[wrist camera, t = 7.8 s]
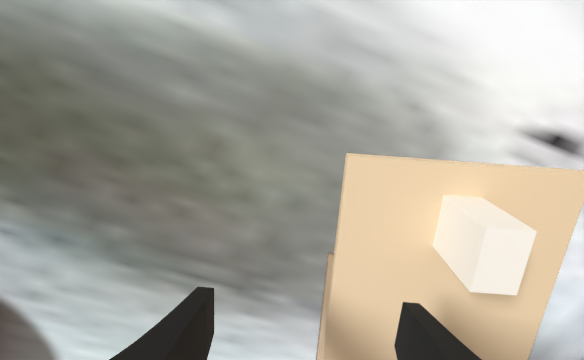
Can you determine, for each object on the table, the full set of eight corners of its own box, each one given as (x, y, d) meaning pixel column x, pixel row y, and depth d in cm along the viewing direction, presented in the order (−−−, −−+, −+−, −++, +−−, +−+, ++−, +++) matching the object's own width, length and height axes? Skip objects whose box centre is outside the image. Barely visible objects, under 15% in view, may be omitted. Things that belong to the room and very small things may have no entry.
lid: (510, 383, 21) (566, 463, 16) (320, 369, 21) (325, 445, 16) (583, 170, 17) (685, 201, 12) (346, 153, 17) (362, 177, 12)
